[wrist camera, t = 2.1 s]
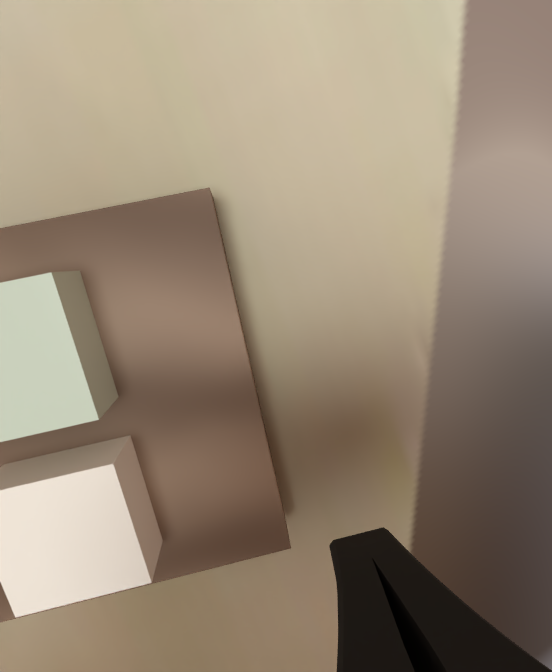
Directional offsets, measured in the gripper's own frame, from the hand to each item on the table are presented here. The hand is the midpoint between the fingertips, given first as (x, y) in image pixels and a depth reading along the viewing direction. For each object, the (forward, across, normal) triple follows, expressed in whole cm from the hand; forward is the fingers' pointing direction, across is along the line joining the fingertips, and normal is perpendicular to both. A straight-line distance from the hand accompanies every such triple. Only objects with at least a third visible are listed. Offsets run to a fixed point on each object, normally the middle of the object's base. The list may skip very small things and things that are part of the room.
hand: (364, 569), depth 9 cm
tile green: (+6, +9, -6) cm, 12 cm away
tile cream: (+6, +9, 0) cm, 11 cm away
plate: (+8, +9, -3) cm, 12 cm away
